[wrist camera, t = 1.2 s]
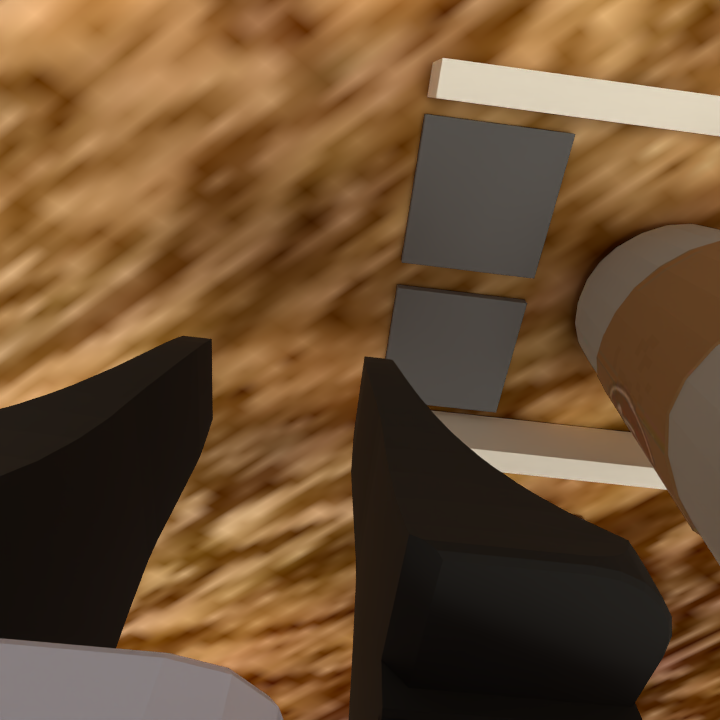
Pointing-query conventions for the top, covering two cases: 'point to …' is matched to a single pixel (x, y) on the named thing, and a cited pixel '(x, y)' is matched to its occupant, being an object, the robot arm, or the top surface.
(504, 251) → the trap pits
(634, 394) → the coffee cup
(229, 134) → the top surface
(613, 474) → the lane box
